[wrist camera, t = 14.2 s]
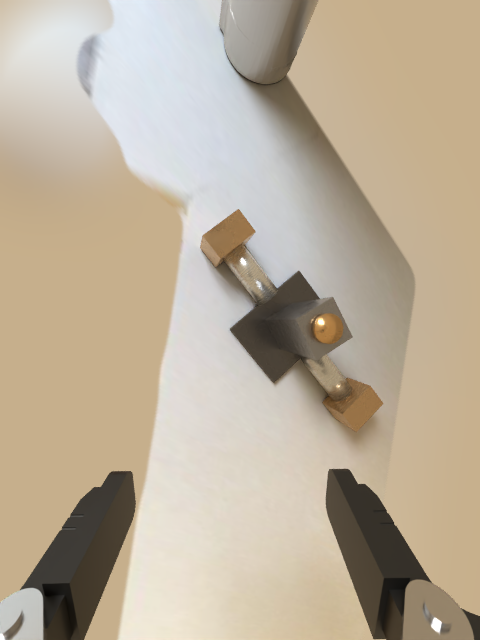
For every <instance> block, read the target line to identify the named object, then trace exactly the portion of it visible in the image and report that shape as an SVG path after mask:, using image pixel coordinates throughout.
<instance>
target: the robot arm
mask: <svg viewBox="0 0 480 640" xmlns="http://www.w3.org/2000/svg"><path fill="white" fill-rule="evenodd" d="M317 2H318V0H222V4H221V13H220V22H219V27H220V28H221V30H222V31H223V34H224V46H225V50H226V53H227V55H228V58H229V60H230V61H231V63H232V64H233V66H234V67H235V68H236V70H237V71H238V72H239V73H240V74H242V75H243V76H244V77H246V78H247V79H249V80H251V81H253V82H256V83H260V84H271V83H275V82H278V81H280V80H281V79H282V78H284V77H285V76H286V74H287V73H288V71H289V69H290V67H291V64H292V62H293V60H294V58H295V56H296V54H297V50H298V48H299V45H300V43H301V41H302V38H303V36H304V34H305V31H306V29H307V27H308V24H309V22H310V19H311V17H312V15H313V12H314V10H315V7H316V5H317ZM135 502H136V501H135V492H134V483H133V474H132V472H131V471H113V472H111V473H109V475H108V476H107V478H106V480H105V481H104V483H103V485H102V486H101V487H94V488H93V489H92V490H91V491H90V492H88V493H87V494H86V495H85V496H84V497H83V498H82V499H81V500H80V501H79V503H78V504H77V506H76V507H75V509H74V510H73V512H72V513H71V516H70V518H68V519H67V521H66V522H65V524H64V525H63V527H62V530H61V531H59V533H58V534H57V536H56V537H55V539H54V541H53V542H52V543H51V545H50V546H49V548H48V550H47V551H46V552H45V554H44V555H43V557H42V558H41V560H40V561H39V563H38V564H37V566H36V567H35V569H34V570H33V572H32V574H31V575H30V576H29V578H28V579H27V581H26V582H25V584H24V585H23V586H22V588H21V589H20V591H17V592H15V593H13V594H11V595H10V596H8V597H7V598H5V599H4V600H3V601H1V602H0V640H84V638H85V635H86V633H87V631H88V628H89V626H90V623H91V621H92V618H93V616H94V614H95V611H96V608H97V606H98V603H99V601H100V599H101V596H102V594H103V591H104V589H105V586H106V584H107V582H108V579H109V577H110V574H111V572H112V569H113V567H114V564H115V562H116V559H117V557H118V555H119V552H120V550H121V547H122V545H123V542H124V540H125V537H126V535H127V532H128V530H129V527H130V525H131V523H132V520H133V517H134V512H135V504H136V503H135ZM326 508H327V513H328V517H329V520H330V523H331V526H332V528H333V531H334V534H335V536H336V539H337V542H338V544H339V547H340V550H341V553H342V555H343V558H344V561H345V563H346V566H347V569H348V571H349V574H350V577H351V580H352V582H353V585H354V588H355V590H356V593H357V596H358V598H359V601H360V604H361V607H362V609H363V612H364V615H365V617H366V620H367V623H368V625H369V628H370V631H371V634H372V636H373V639H386V640H480V616H478V615H475V614H472V613H469V612H467V611H465V610H464V609H462V608H460V607H459V605H458V604H457V603H456V602H455V601H454V600H453V598H451V597H450V596H449V595H448V594H447V593H446V592H445V591H444V590H442V589H441V588H439V587H438V586H436V585H434V584H433V583H432V582H431V581H430V579H429V578H428V576H427V575H426V573H425V572H424V570H423V568H422V567H421V565H420V564H419V562H418V560H417V559H416V557H415V556H414V554H413V552H412V551H411V549H410V548H409V546H408V544H407V543H406V541H405V539H404V538H403V536H402V535H401V533H400V531H399V530H398V528H397V526H395V525H394V522H393V520H392V518H391V517H390V515H389V514H388V513H387V510H386V509H385V507H384V505H383V504H382V502H381V501H380V499H379V497H378V496H377V495H376V494H375V493H374V492H373V491H372V490H371V489H370V488H369V487H368V486H367V485H365V484H358V483H357V482H356V480H355V478H354V476H353V475H352V473H351V471H350V470H349V469H329V471H328V480H327V491H326Z"/></svg>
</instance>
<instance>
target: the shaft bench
mask: <svg viewBox="0 0 480 640" xmlns="http://www.w3.org/2000/svg"><path fill="white" fill-rule="evenodd" d="M254 233H255V230H254V229H253V228H252V226H251V225H250V223H249V222H248V221H247V219H246V218H245V217H244V215H243V214H242V213H241V211H240V210H239V209H238V210H237V211H235V212H234V213H232V214H231V215H230V216H228V217H227V218H226V219H224V220H223V221H222V222H220V223H219V224H218V225H216V226H215V227H214V228H212V229H211V230H210V231H208V232H207V233H205V234H204V235H203V236H202V241H201V246H200V248H201V250H202V251H203V252H204V253H205V255H206V256H207V257H208V258H209V260H210V261H211V262H212V263H213V265H214V266H215V267H217V266H218V265H219V264H221V263H222V262H223V261H224V262H225V263H226V264H227V265H228V267H229V268H230V269H231V270H232V272H233V273H234V274H235V276H236V277H237V278H238V279H239V281H240V282H241V283H242V285H243V286H244V287H245V288H246V290H247V291H248V292H249V294H250V295H251V296H252V297H253V299H254V300H255V301H256V302H257V304H258V305H257V306H256V307H255V308H254V309H253V310H251V311H250V312H249V313H248V314H247V315H246V316H244V317H243V318H242V319H241V320H240V321H238V322H237V323H236V324H235V325H234V326H232V327H231V328H230V330H231V331H232V333H233V334H234V335H235V336H236V337H237V339H238V340H239V341H240V342H241V344H242V345H243V346H244V347H245V348H246V350H247V351H248V352H249V353H250V355H251V356H252V357H253V358H254V360H255V361H256V362H257V363H258V364H259V366H260V367H261V368H262V369H263V371H264V372H265V373H266V374H267V375H268V377H269V378H270V379H271V380H272V382H275V381H276V380H277V379H278V378H279V377H280V376H282V375H283V374H284V373H285V372H286V371H287V370H288V369H289V368H290V367H291V366H292V365H293V364H294V363H296V362H297V361H298V360H299V359H300V358H301V360H302V361H303V363H304V364H305V365H306V366H307V368H308V369H309V370H310V372H311V373H312V374H313V375H314V377H315V378H316V379H317V381H318V382H319V383H320V384H321V386H322V387H323V388H324V390H325V391H326V392H327V393H328V395H329V396H328V397H327V398H326V399H325V400H324V401H323V402H322V403H323V404H324V405H325V406H326V408H327V409H328V410H329V411H330V413H331V414H332V415H333V416H334V418H335V419H337V420H339V421H340V422H342V423H343V424H345V425H346V426H348V427H349V428H351V429H352V430H354V431H355V432H357V431H358V430H359V429H360V428H361V427H362V426H363V425H364V424H365V422H366V421H367V420H368V419H369V418H370V417H371V416H372V415H373V414H374V413H375V412H376V411H377V410H378V409H379V408H380V407H381V406H382V404H383V402H382V401H381V400H380V398H379V397H378V396H377V394H376V393H375V392H374V390H373V389H372V388H371V386H369V385H367V384H364V383H361V382H358V381H355V380H352V379H350V378H346V379H345V378H344V376H343V375H342V374H341V372H340V371H339V370H338V368H337V367H336V366H335V365H334V363H333V362H332V361H331V359H330V358H329V357H328V355H327V354H326V355H324V356H323V357H321V358H320V359H318V360H314V359H310V358H307V357H304V356H301V355H297V354H294V353H291V352H288V351H284V350H281V349H280V348H279V346H278V344H277V342H276V340H275V338H274V336H273V334H272V333H271V331H270V329H269V327H268V325H267V323H266V321H265V319H267V318H268V317H270V316H272V315H273V314H275V313H277V312H279V311H280V310H282V309H284V308H285V307H287V306H289V305H291V304H292V303H298V302H304V301H311V300H317V299H320V298H319V297H318V296H317V294H316V293H315V292H314V290H313V289H312V287H311V286H310V285H309V283H308V282H307V281H306V279H305V278H304V277H303V275H302V274H301V272H300V271H298V272H297V273H295V274H294V275H293V276H292V277H291V278H289V279H288V280H287V281H286V282H285V283H283V284H282V285H281V286H280V287H279V288H278V289H277V288H276V287H275V285H274V284H273V283H272V281H271V280H270V279H269V278H268V276H267V275H266V274H265V272H264V271H263V270H262V268H261V267H260V266H259V264H258V263H257V262H256V260H255V259H254V258H253V256H252V255H251V254H250V252H249V251H248V250H247V249H246V247H245V246H244V245H245V244H246V243H247V242H248V241H249V239H250V238H251V237H252V236H253V234H254Z"/></svg>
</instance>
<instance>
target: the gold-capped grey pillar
mask: <svg viewBox="0 0 480 640" xmlns="http://www.w3.org/2000/svg"><path fill="white" fill-rule="evenodd" d="M265 321H266V323H267V325H268V327H269V329H270V331H271V333H272V334H273V336H274V338H275V340H276V342H277V344H278V346H279V348H280V349H281V350H284V351H288V352H291V353H294V354H297V355H301V356H304V357H307V358H310V359H314V360H318V359H320V358H321V357H323V356H324V355H326V354H327V353H329V352H330V351H332V350H333V349H335V348H337V347H338V346H340V345H341V344H343V343H344V342H346V341H347V340H349V339H350V338H352V335H351V333H350V331H349V329H348V327H347V325H346V323H345V320H344V318H343V316H342V314H341V312H340V310H339V308H338V306H337V304H336V302H335V300H334V298H333V297H330V298H323V299H317V300H311V301H304V302H298V303H292V304H291V305H289V306H287V307H285V308H284V309H282V310H280V311H279V312H277V313H275V314H273V315H272V316H270V317H268V318H267V319H265Z"/></svg>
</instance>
